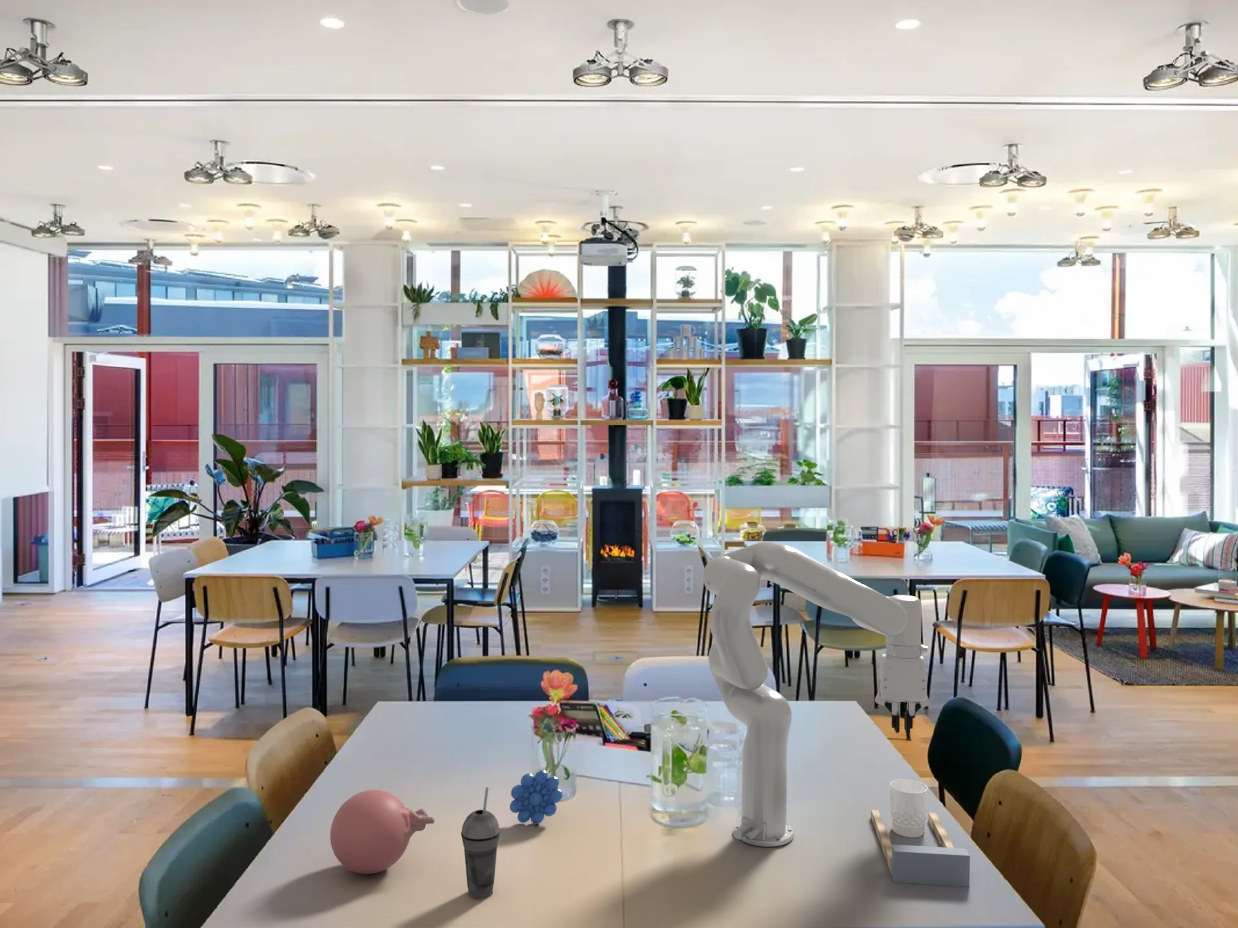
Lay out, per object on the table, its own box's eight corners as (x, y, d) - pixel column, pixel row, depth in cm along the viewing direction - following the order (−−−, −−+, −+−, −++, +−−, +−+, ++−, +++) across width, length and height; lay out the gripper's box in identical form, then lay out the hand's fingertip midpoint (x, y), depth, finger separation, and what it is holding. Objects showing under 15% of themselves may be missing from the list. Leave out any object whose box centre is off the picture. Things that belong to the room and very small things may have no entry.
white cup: (929, 840, 198) (930, 794, 197) (890, 836, 199) (891, 790, 199) (924, 825, 205) (925, 780, 205) (887, 821, 207) (888, 777, 206)
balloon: (428, 887, 176) (427, 807, 175) (320, 889, 175) (320, 808, 174) (439, 850, 191) (439, 777, 191) (341, 852, 190) (341, 778, 190)
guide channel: (965, 878, 180) (965, 868, 180) (891, 874, 182) (891, 864, 182) (935, 821, 207) (935, 812, 207) (870, 817, 209) (871, 808, 209)
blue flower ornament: (563, 815, 209) (564, 763, 209) (561, 828, 202) (561, 774, 202) (512, 815, 209) (512, 762, 209) (508, 828, 202) (508, 773, 202)
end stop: (969, 886, 178) (969, 855, 177) (894, 881, 179) (894, 851, 179) (965, 878, 180) (966, 848, 180) (891, 874, 182) (891, 844, 182)
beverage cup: (462, 884, 177) (462, 780, 177) (501, 882, 178) (501, 779, 177) (459, 903, 170) (459, 795, 169) (499, 902, 171) (499, 794, 170)
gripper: (935, 647, 213) (934, 727, 213) (865, 645, 214) (863, 724, 215) (943, 655, 205) (941, 738, 206) (869, 653, 207) (868, 735, 208)
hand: (901, 730), depth 210 cm, fingers closed
